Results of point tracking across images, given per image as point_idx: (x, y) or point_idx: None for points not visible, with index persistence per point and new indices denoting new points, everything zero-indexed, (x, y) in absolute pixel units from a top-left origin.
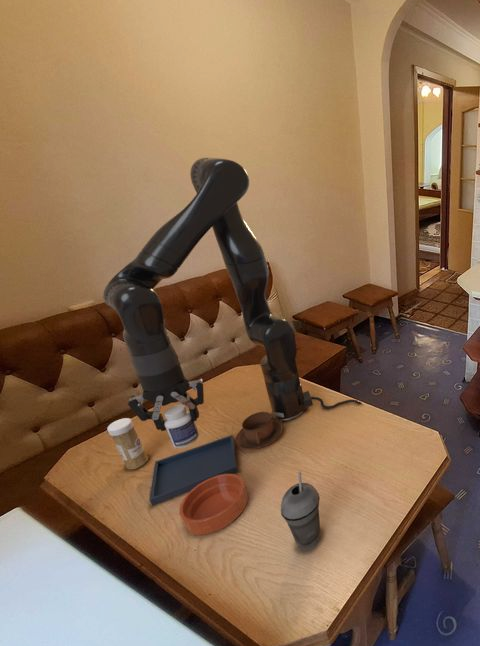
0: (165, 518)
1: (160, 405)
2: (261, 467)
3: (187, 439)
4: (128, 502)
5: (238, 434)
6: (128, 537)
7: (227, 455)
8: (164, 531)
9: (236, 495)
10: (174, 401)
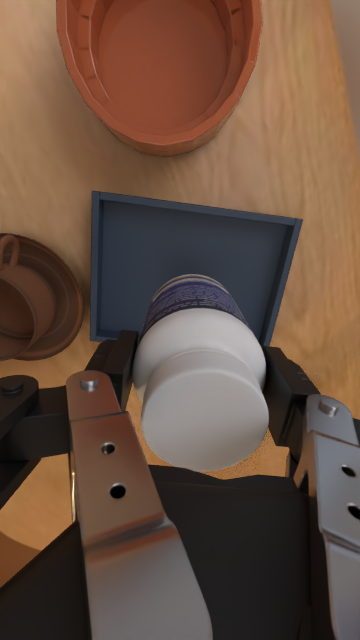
0: (278, 144)
1: (326, 487)
2: (34, 162)
3: (185, 281)
4: (330, 272)
5: (75, 333)
6: (356, 141)
7: (114, 277)
8: (290, 90)
9: (108, 77)
10: (188, 482)
